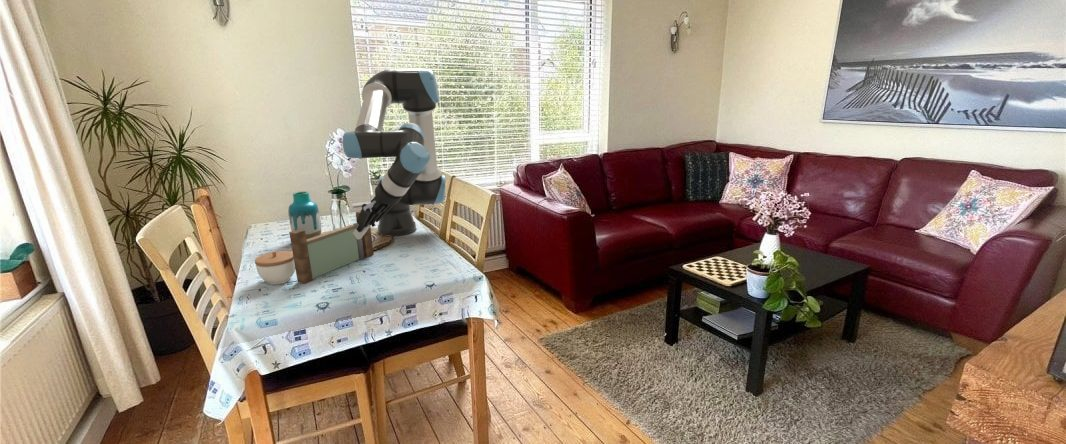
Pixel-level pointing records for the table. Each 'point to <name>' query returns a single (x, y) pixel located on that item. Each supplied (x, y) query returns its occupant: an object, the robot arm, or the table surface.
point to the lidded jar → (276, 266)
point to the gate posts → (303, 256)
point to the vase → (304, 215)
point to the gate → (334, 250)
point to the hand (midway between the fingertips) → (357, 235)
